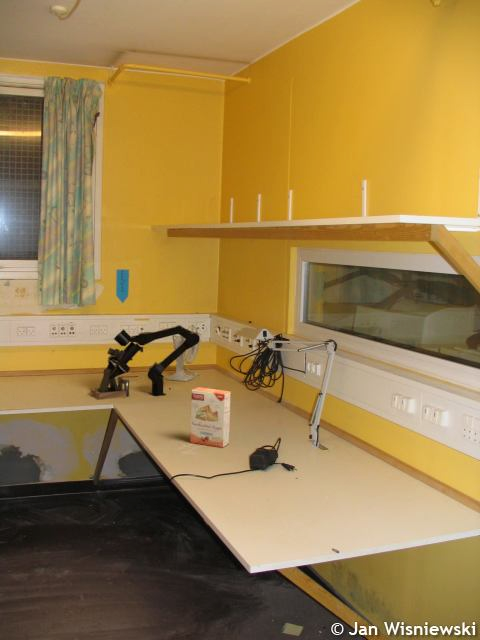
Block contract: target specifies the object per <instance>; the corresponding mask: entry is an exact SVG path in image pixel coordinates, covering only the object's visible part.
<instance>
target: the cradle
mask: <svg viewBox="0 0 480 640" xmlns="http://www.w3.org/2000/svg"><path fill="white" fill-rule="evenodd" d="M117 386H118V389H119V391H114V392H110V391H111V388H110V386H108V390H107V392H104V393H100V392H98V390H99V388H100V387H99V388H98V387H95V388H90V396H92V397H93V398H95V399H96V400H99V399H100V400H107V399H108V398H110V399H118V398H120V399H121V398H126V397H130V379H127V378H126V379H124V377H123V376H117ZM108 400H109V399H108Z"/></svg>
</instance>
